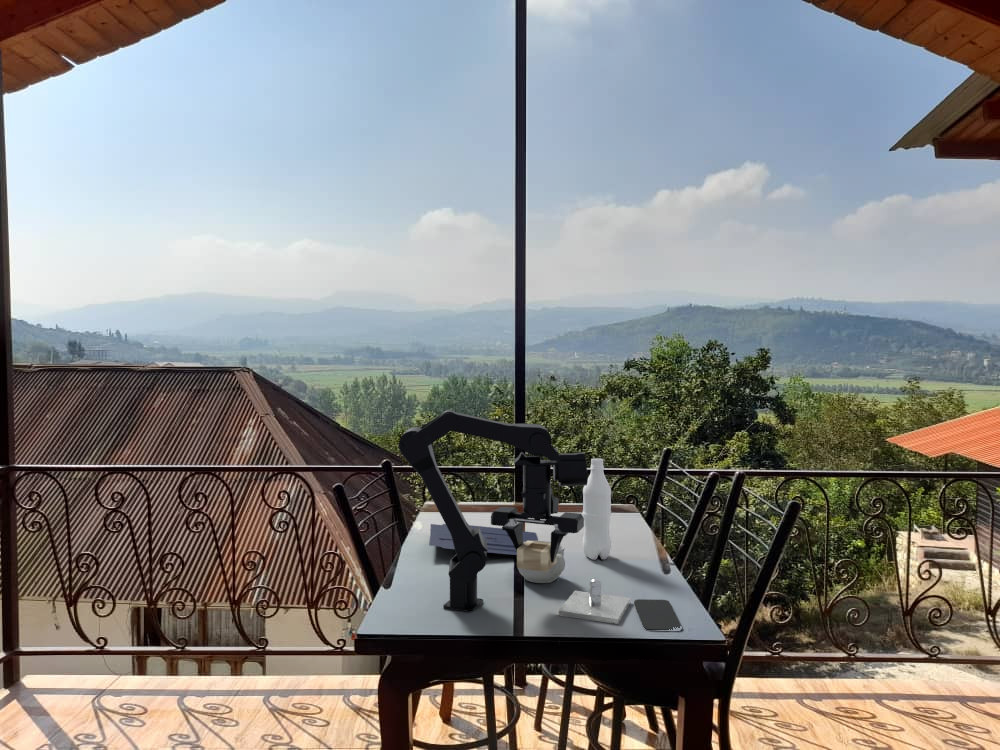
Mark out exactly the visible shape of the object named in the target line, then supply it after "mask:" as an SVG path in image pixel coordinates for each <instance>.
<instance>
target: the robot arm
mask: <svg viewBox="0 0 1000 750" xmlns="http://www.w3.org/2000/svg"><path fill="white" fill-rule="evenodd" d="M449 432H455V433H459V434H460V433H461V434H464V435H469V436H473V437H477V438H483V439H488V440H493V441H496V442H497V441H498V442H502V443H504V444H507V445H510V446H512V447H514V448H516V449H519V450H521V452H520V453H519V455H518V456H517V457H516V458H515V459H513V462H514V465H515V466H522V471H523V472H522V482H523V483H522V484H523V486H522V492H521V493H520V494H521V495H520V496H521V497H520V498H522V505H523V507H522V512H519V511H518V508H517V507H511V506H510V507H509V506H500V507H498V508H497V509H494V511H493V512H492V513H491V515H490V525H492V526H498V527H501V528H502V530H505V531H506V532H507V533H508V535H509V537H510V539H511V540H512V542H513V544H514V547H515V549H516V551H517V549H518V548H519V547H520V546H521V545H523V531H524V523H525V524H535V525H537V524H538V525H545V526H554V527H553V528H554V530H553V531H551V533H550V542H551V553H550V556H551V563H553V562H554V561H555V558H556V555H557V552H558V549H559V546H560V544H561V543H562V541H563V538H564V537H566V536H567V535H568V534H578V533H579V532H580V531H581V530H582V529H583V528H585V523H584V517H583V513H577V512H567V511H565V512H564V513H563V514H561V515H559V516H558V515H557V516H556V515H553V514H558V513H559V504H560V503H559V502H560V499H559V497H557V496H554V495H553V492H554V491H553V488H551V487H552V483H551V482H552V480H551V479H552V478H551V476H552V475H553V481H554V482H557V483H558V486H559V487H564V486H565V487H566V486H567V487H569V486H571V487H573V486H575V487H576V486H578V487H579V486H583V487H584V486H585V485H587V482H588V478H589V470H588V469H587V466H588V465H587V459H586V457H587V456H586V453H585V452H574V453H571V452H569V453H567V452H566V453H564V452H563V453H562V452H561V453H560V452H559V450H558V448H556V447H554V445H552V444H553V442H552V441H553V439H552V436H551V434H550V432H549V431H548V429H547V428H546V427H545V426H543V425H542V424H539V423H506V422H502V421H498V420H493V419H488V418H483V417H479V416H475V415H470V414H466V413H461V412H456V411H454V410H451V409H446V410H445V411H443V412H442V413H441V414H440V415H438V416H436V417H435V418H433V419H431V420H430V421H428V422H426V423H425V424H423V425H422V426H420V427H419V426H417V427H416V426H415V427H409V428H408V429H406V430H405V431H404V433H403V434H402V435H401V437H400V439H399V441H398V449H399V452H400V454H401V455H402V456H403V458H404V459H405V460H406V461H407V463H408V464H409V465H410V467H412V468H413V469H414V471H416V472H417V474H418V475H419V476H420V478H421V480H422V481H423V484H424V485H425V488H426V489H427V491H428V493H429V495H430V496H431V499H432V501H433V503H434V504H435V506H436V508H437V510H438V512H439V514H440V516H441V518H442V520H443V521H444V524H446V526H447V528H448V530H449V531H450V533H451V536H452V540H453V544H454V548H455V549H454V552H455V555H454V556H453V557H452V558H451V559H450V562H449V566H448V567H449V568H448V577H449V600H448V601H446V602H445V603H444V604H443V605H442V607H443V608H444V609H448V610H449V609H450V610H456V611H461V612H462V611H463V612H469V613H470V612H473V611H475V609H477V608H478V607H479V606H480V605H481V604H482V603H483V602H484V599H483V598H478V574H479V572H481V571H482V570H483V569H484V568H485V567H486V564H487V562H488V559H487V558H488V556H487V555H488V554H487V553H488V552H487V541H486V540H485V539H484V538H483V536H482V534H481V531H480V528H479V526H480V525H476V526H477V527H476V528H474V529H472V527H471V526H470V524H469V523H468V522H467V521H466V518H465V516H464V515H463V511H461V509H460V507H459V505H458V503H457V501H456V499H455V497H454V496H453V493H452V492H451V490H450V488H449V486H448V483H447V482H446V479H445V478H444V476H443V474H442V472H441V470H440V469H439V466H438V464H437V461H436V458H435V452H434V449H433V445H432V444H434V443H436V441H438V440H440V439H441V438H442V437H443V436H445V435H446V434H448V433H449ZM524 452H525V453H528V454H530V455H525V454H524ZM541 456H542V457H545V458H546V459H541ZM551 466H552V467H551ZM551 468H552V469H551ZM551 470H552V471H551ZM551 473H552V474H551Z"/></svg>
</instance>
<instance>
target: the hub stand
mask: <svg viewBox="0 0 1000 750" xmlns="http://www.w3.org/2000/svg"><path fill="white" fill-rule="evenodd" d="M588 588H589V591H588V592H587V591H580V590H579V591H578V590H574V591H573V592H572V593H571V595H570V596H569V597H568V599H566V600H565V602H564V603H563V605H562V606H561V607H560V608H559V609H558V616H560V617H566V618H573V619H578V620H579V619H581V620H588V621H593V622H601V623H606V622H607V623H608V624H613V623H614V625H619V623H620V622H621V620H622V618H623V616H624V615H625V613H626V611H627V609H628V608H629V605H630V604H631V598H630V597H624V596H617V595H609V594H602V582H601V581H600V580H599V579H597V578H593V579H591V580H590V582H589V587H588ZM619 621H620V622H619ZM607 623H606V624H607Z"/></svg>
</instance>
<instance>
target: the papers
mask: <svg viewBox="0 0 1000 750" xmlns="http://www.w3.org/2000/svg"><path fill="white" fill-rule="evenodd" d="M469 525H470V524H469ZM470 526H471V527H472V529H474V528H476V527H477V526H479V528H480V531H481V534H482V536H483V538H484V539H485V540H486V541H487V553H491V554H500V555H501V554H502V555H512V556H513V555H515V556H517V551H516V549H515V547H514V544H513V542H512V540H511V539H510V537H509V535H508V533H507V532H506V531H505V530H502V527H493V526H492V527H491V526H483V525H473V524H472V525H470ZM526 541H539V538H538V536H537V532H533V531H525V530H523V542H526ZM428 545H429V546H433V547H441V548H442V549H448V550H449V549H450V550H455V548H454V544H453V540H452V536H451V533H450V531H449V530H448V528H447V526H446V524H445V523H442V524H435V523H431V524H430V535H429V542H428Z"/></svg>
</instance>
